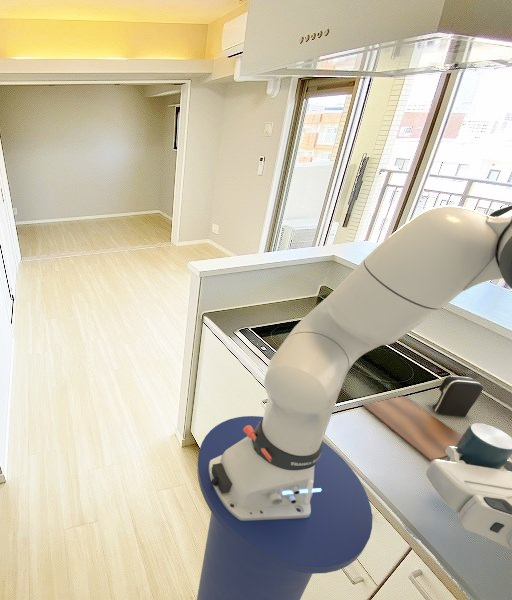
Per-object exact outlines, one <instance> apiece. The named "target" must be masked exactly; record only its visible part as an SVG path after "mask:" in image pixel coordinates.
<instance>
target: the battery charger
mask: <svg viewBox="0 0 512 600" xmlns="http://www.w3.org/2000/svg"><path fill="white" fill-rule="evenodd" d="M438 390H439V391H440V395H439V398H438V400H437V401H436V402H435V404H432V409H433V410H434V412H435V413H436V414H438V415H444V416H445V415H446V416H452V417H453V416H454V417H462V418H466V416H467V415H468V413H469V412H470V410H471V409H472V407H473V406H474V405H475V403H476V402H477V400H478V399H479V397H480V396H481V394H482V392H483V390H484V387H483V385H482V384H481V382H478V380H476V379H475V378H473V377H468V376H459V375H448V376H446V377H445V378H444V379H443V381H442V382H441V384H440V386H439V388H438Z"/></svg>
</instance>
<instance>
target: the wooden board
mask: <svg viewBox="0 0 512 600" xmlns="http://www.w3.org/2000/svg"><path fill="white" fill-rule="evenodd" d="M363 408H365V410H366V411H368V412H370V414H372V415H373V416H374V417H375V418H376V419H378V420H379V421H380V422H381V423H382V424H384V425H385V426H386V427H387V428H389V429H390V430H391V431H392V432H394V433H395V434H396V435H397V436H398V437H400V438H401V439H402V440H403V441H404V442H405V443H407V444H408V445H410V446H411V447H412V449H415V450H416V451H417V452H418V453H419V454H420V455H421V456H423V457H424V458H425V459H426V460H428V461H429V462H432V461H433V460H434V459H438V460H441V459H445V458H448V457H449V456H448V455H447V453H446V451H445V450H446V448H447V447H448V446H453V447H455V446H456V445H457V443H458V442H459V440H460V439H461V437H462V436H463V435H461V434H459V433H458V432H456V431H455V430H453V429H452V428H451V427H449V426H448V425H446V424H445V423H444V422H443V421H441V420H439V419H438V418H437V417H436V416H434V415H432V414H431V413H430V412H428V411H426V410H425V409H424V408H423V407H421V406H419V405H418V404H417V403H415V402H414V401H413V400H411V399H409V398H408V397H407V396H405V395H402V396H397V397H393V398H388V399H384V400H379V401H375V402H370V403H365V404H363Z"/></svg>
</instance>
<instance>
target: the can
mask: <svg viewBox="0 0 512 600" xmlns="http://www.w3.org/2000/svg"><path fill="white" fill-rule="evenodd" d="M461 436H462V437H461V439H460V440H459V442H458V443H457V445H456V446H455V447H458V448H459V449H460V450H461V451H462V452H463V454H464V455H463V456H462V457H461V459H460V460H463V461H464V462H465V463H466V464H469V465H475V466H481V467H487V468H494V469H500V470H502V468H503V467H502V466H503V465H504V464H505V462H506V461H507V460H508V459H509V458H510V457H512V437H511V436H510V435H509V434H507V433H506V432H504V431H503V430H501V429H500V428H497V427H495V426H492V425H489V424H485V423H480V422H477V423H471V424H469V425H468V427H467V429H466V430H465V431H464V433H463V435H461ZM445 461H450V457H449V456H448V457H446V459H445Z"/></svg>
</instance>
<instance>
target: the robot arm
mask: <svg viewBox="0 0 512 600" xmlns="http://www.w3.org/2000/svg"><path fill="white" fill-rule="evenodd" d="M500 279H503V281H504V282H505V284H507V286H508V287H509V288H510V289H511V290H512V205H509V206H506V207H502V208H500V209H497V210H495V211H493V212H491V213H490V214H489V215H487V214H484V213H482V212H480V211H478V210H474V209H471V208H468V207H464V206H458V205H441V206H434V207H430V208H428V209H426V210H424V211H422V212H420V213H419V214H418V215H416V216H414V217H413V218H412V219H410V220H409V221H407V222H406V223H405V224H403V225H402V226H401V227H399V228H397V230H396V231H394V232H393V233H392V234H391V235H390V236H388V237H387V238H386V239H385V240H383V241H382V242H381V243H380V244H379V245H377V247H375V248H374V249H373V250H372V251H371V252H370V253H369V254H368V255H367V256H366V257H365V258H364V259H363V260H362V261H361V262H360V263H359V264H358V265H357V266H356V267H355V268H354V269H353V270H352V271H351V272H350V273H349V274H348V275H347V277H345V278H344V280H342V281H341V283H339V285H337V286H336V287H335V288H334V290H333V291H331V293H330V294H328V295H327V296H326V298H324V299H323V300H321V302H319V304H317V305H316V306H315V307H314V308H313V309H311V311H309V312H308V313H307V314H306V315H305V316H304V317H303V318H302V319H301V320H300V321H299V322H298V323H297V324H296V325H295V326H294V327H293V328H292V330H291V331H290V332H289V334H288V335H287V337H286V338H285V339H284V340H283V342H282V343H281V345H279V347H278V349H277V350H276V351H275V353H274V354H273V355H272V356H271V358H270V360H269V362H268V365H267V369H266V372H265V375H264V383H263V384H264V385H263V386H264V389H265V393H266V394H267V400H266V405H265V407H264V408H265V409H264V413H263V416H262V417H263V418H262V420H261V421H260V422H259V424H258V425H257V427H256V428H255V430H253V428H252V426H250V425H247V426H245V427H244V429H243V431H244V432H245V433H246V434H247V437H245V438H244V439H242V440H241V441H239V442H238V443H236V444H234V445H233V446H231V447H230V448H228V449H227V450H226V451H225V452H224V453H223V455H220V456H218V457H216V458H214V459H212V460H211V461H210V462H209V468H208V469H209V476H210V479H211V482H212V485H213V487H214V489H215V491H216V493H217V495H218V496H219V498H220V500H221V501H222V503H223V504H224V506H225V507H226V508H227V509H228V510H229V512H230V513H231V514H232V515H234V516H235V517H236V518H237V519H239V520H241V521H251V520H273V519H295V518H308V517H309V516H310V513H311V506H310V500H311V498H312V495H313V492H321V488H317V489H313V482H314V468H315V464H316V463H317V461H318V459H319V458H320V455H321V450H322V441H323V440H324V437H325V435H326V431H327V429H328V426H329V424H330V421H331V417H332V414H333V412H334V409H335V406H336V403H337V401H338V398H339V395H340V392H341V390H342V387H343V386H344V385H343V384H344V383H345V380H346V377H347V375H348V373H349V371H350V369H351V368H352V366H353V365H354V364H355V363H356V361H357V360H359V358H361V357H362V356H364V355H365V354H367V353H368V352H371V351H373V350H375V349H377V348H379V347H381V346H388V345H392V344H395V343H396V342H398V341H399V340H401V339H402V338H403V337H404V336H406V335H407V334H409V333H410V332H411V331H413V330H414V329H415V328H417V327H418V326H420V325H421V324H422V323H423V322H424V321H426V320H427V319H428V318H430V317H432V316H433V315H434V314H435V313H437V312H438V311H439V310H442V309H443V308H444V307H445V306H447V304H449V303H450V302H451V301H452V300H454V299H455V298H457V297H458V296H459V295H460V294H461V293H463V292H465V291H467V290H470V289H471V288H473V287H475V286H477V285H479V284H482V283H486V282H489V281H494V280H500ZM445 451H446V453H447V455H448V457H450V461H446V460H443V459H434V460H433V461H430V463H429V465H428V466H427V468H426V470H425V475H426V478H427V479H428V481H429V483H430V484H431V486H432V487H433V488H434V490H435V491H436V493H437V494H438V496H439V497H440V498H441V500H442V501H443V502H444V503H445V504H446V505H447V506H448V507H449V508H450V509H451V510H453V511H454V512H457V513H458V514H457V517H456V519H457V521H458V523H459V524H460V526H461V527H462V528H464V529H465V530H467V531H470V532H472V533H474V534H476V535H479V536H481V537H483V538H486V539H488V540H490V541H493V542H495V543H497V544H499V545H501V546H503V547H505V548H507V549H509V550H512V459H511V458H510V457H509V459H508V460H507V461H506V462H505V464H504V465H503V466H502V468H504V469H494V468H487V467H481V466H475V465H469V464H466V463H465V462H464V461H463V460H460V459H461V457H462V456H463V455H464V454H463V452H462V451H461V450H460V449H459V448H458V447H453V446H448V447H447V448H446V450H445ZM230 505H232V506H233V507H231V506H230ZM297 510H299V511H300V512H298V511H297Z"/></svg>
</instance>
